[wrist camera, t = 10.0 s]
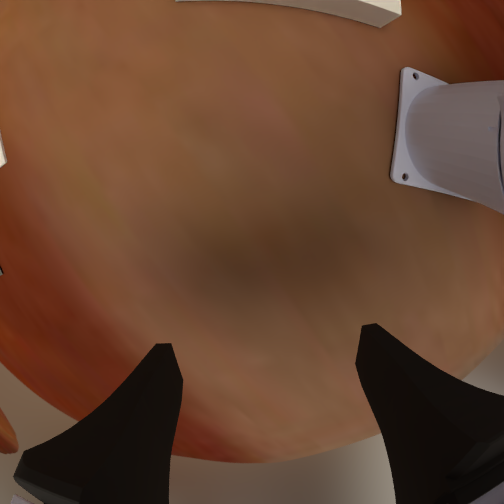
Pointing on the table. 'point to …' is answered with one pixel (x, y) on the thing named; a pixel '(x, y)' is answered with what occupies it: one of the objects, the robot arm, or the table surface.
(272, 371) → the table surface
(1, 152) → the teal sliding drawer box
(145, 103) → the table surface
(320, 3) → the socket block
